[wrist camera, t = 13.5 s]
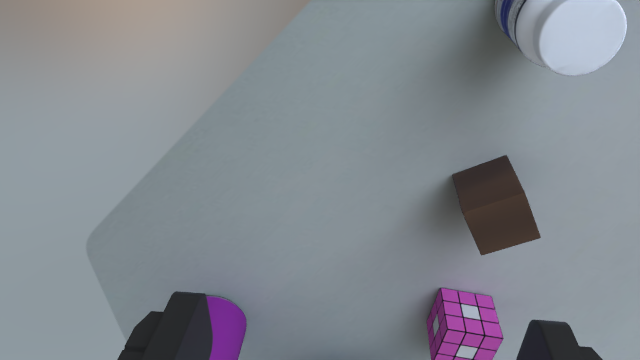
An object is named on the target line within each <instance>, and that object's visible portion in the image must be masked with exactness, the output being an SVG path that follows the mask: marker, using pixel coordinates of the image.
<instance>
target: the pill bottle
mask: <svg viewBox="0 0 640 360" xmlns="http://www.w3.org/2000/svg"><path fill="white" fill-rule="evenodd" d="M495 16H496V20H497V22H498V24H499V26H500V28H501V29H502V31H503V32H504V33H505V34H506V35H507V36H508V37H509V38H510V39H511V40H512V42H513V43H514V44H515V45H516V46H517V47H518V48H519V50H520V51H521V52H522V53H523V54H524V55H525V56H526V57H527V58H528V59H529V60H530V61H532V62H533V63H535V64H537V65H539V66H543V67H547V68H549V69H550V70H552V71H553V72H555V73H558V74H561V75H566V76H579V75H584V74H588V73H591V72H593V71H595V70H597V69H599V68H600V67H602V66H603V65H605V64H606V63H607V62H609V61H610V60H611V59H612V58H613V57H614V55H615V54H616V53H617V52H618V50H619V49H620V47H621V45H622V43H623V41H624V38H625V35H626V29H627V22H626V16H625V13H624V11H623V9H622V7H621V6H620V4H619V3H618V2H617V1H615V0H496V1H495Z"/></svg>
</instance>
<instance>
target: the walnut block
mask: <svg viewBox="0 0 640 360" xmlns="http://www.w3.org/2000/svg"><path fill="white" fill-rule="evenodd" d="M452 176H453V179H454V183H455V187H456V191H457V194H458V198H459V202H460V206H461V209H462V213H463V215H464V218H465V220H466V222H467V224H468V227H469V229H470V231H471V233H472V236H473V238H474V240H475V242H476V245H477V247H478V249H479V251H480V254H481V255H485V254H488V253H492V252H495V251H498V250H502V249H505V248H508V247H512V246H515V245H518V244H522V243H525V242H529V241H532V240H535V239H539V238H541V237H540V234H539V231H538V228H537V225H536V223H535V220H534V217H533V214H532V211H531V209H530V206H529V203H528V200H527V197H526V195H525V192H524V190H523V188H522V186H521V184H520V182H519V180H518V177H517V175H516V173H515V171H514V169H513V167H512V165H511V163H510V161H509V159H508V157H507V155H506V156H503V157H500V158H497V159H494V160H492V161H489V162H486V163H483V164H481V165H478V166H475V167H472V168H469V169H467V170H464V171H461V172H458V173H456V174H453V175H452Z"/></svg>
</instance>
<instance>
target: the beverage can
mask: <svg viewBox="0 0 640 360" xmlns="http://www.w3.org/2000/svg"><path fill="white" fill-rule="evenodd" d="M206 297H207V302H208V308H209V314H210V319H211V325H212V331H213V344H212V351H211V355H210V359H209V360H238V357H239V353H240V350H241V346H242V343H243V339H244V335H245V332H246V317H245V315H244V313H243V312H242V311H241V310H240V309H239V308H238V307H237V306H236V305H235V304H234V303H233V302H231V301H230V300H228V299H225V298H222V297H218V296H206Z"/></svg>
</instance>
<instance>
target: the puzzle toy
mask: <svg viewBox="0 0 640 360" xmlns="http://www.w3.org/2000/svg"><path fill="white" fill-rule="evenodd" d="M427 329H428V337H429V345H430V354H431V360H492V359H493V357H494V355H495V354H496V352H497V350H498V348H499V346H500V344H501V342H502V341H503V335H502V332H501V328H500V325H499V321H498V317H497V314H496V311H495V307H494V303H493V300H492V297H491V296H485V295H479V294H473V293H467V292H462V291H456V290H450V289H444V288H440V290H439V292H438V295H437V297H436V300H435V302H434V305H433V307H432V310H431V312H430V315H429V318H428V320H427Z"/></svg>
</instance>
